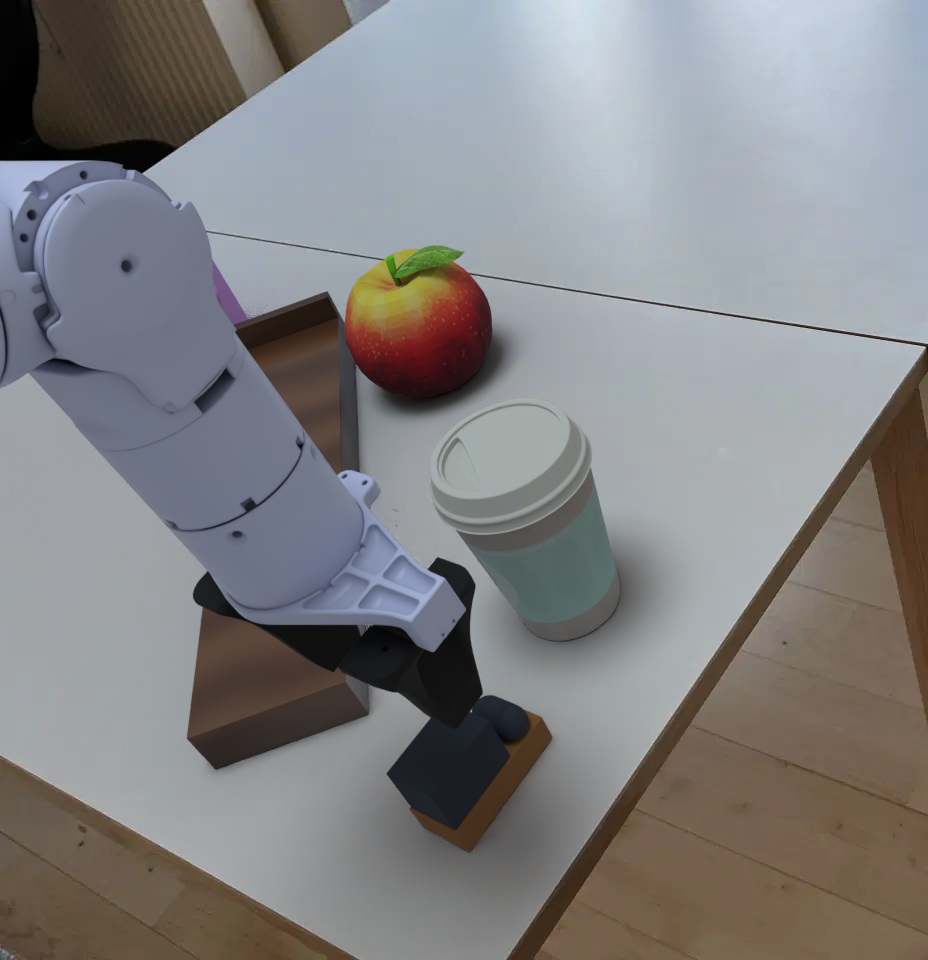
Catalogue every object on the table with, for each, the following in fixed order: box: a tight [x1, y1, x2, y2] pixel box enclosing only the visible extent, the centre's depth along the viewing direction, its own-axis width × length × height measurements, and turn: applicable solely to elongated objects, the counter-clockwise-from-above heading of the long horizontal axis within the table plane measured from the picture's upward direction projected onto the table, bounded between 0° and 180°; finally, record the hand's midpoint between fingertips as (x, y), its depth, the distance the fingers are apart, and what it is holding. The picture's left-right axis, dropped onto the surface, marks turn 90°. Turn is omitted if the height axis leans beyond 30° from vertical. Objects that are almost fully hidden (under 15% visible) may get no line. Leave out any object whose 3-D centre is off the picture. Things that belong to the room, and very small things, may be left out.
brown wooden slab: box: [186, 290, 370, 770], centre depth 74 cm, size 40×9×5 cm, turn 13°
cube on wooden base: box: [385, 694, 553, 853], centre depth 54 cm, size 7×3×5 cm, turn 147°
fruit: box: [344, 245, 493, 399], centre depth 81 cm, size 11×11×10 cm
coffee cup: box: [428, 397, 621, 642], centre depth 59 cm, size 8×8×12 cm
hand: (401, 679), depth 48 cm, fingers open, 7 cm apart
